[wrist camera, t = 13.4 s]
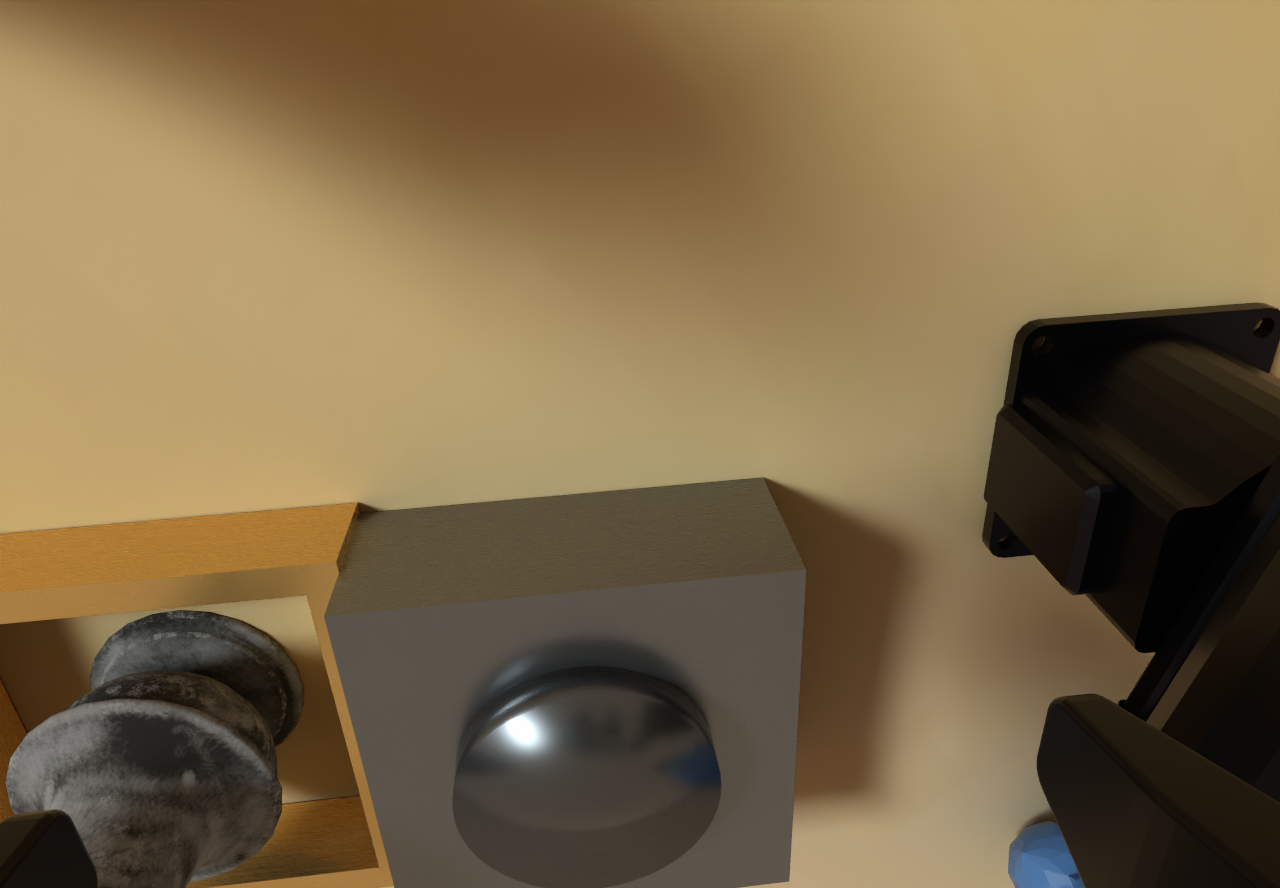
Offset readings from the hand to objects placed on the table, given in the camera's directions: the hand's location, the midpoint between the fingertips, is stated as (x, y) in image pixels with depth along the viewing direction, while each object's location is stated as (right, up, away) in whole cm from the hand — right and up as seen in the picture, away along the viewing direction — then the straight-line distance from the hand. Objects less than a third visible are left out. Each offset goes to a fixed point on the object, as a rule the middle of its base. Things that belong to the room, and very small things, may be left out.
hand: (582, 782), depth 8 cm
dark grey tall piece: (-11, -3, +15) cm, 19 cm away
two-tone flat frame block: (-6, -3, +15) cm, 17 cm away
